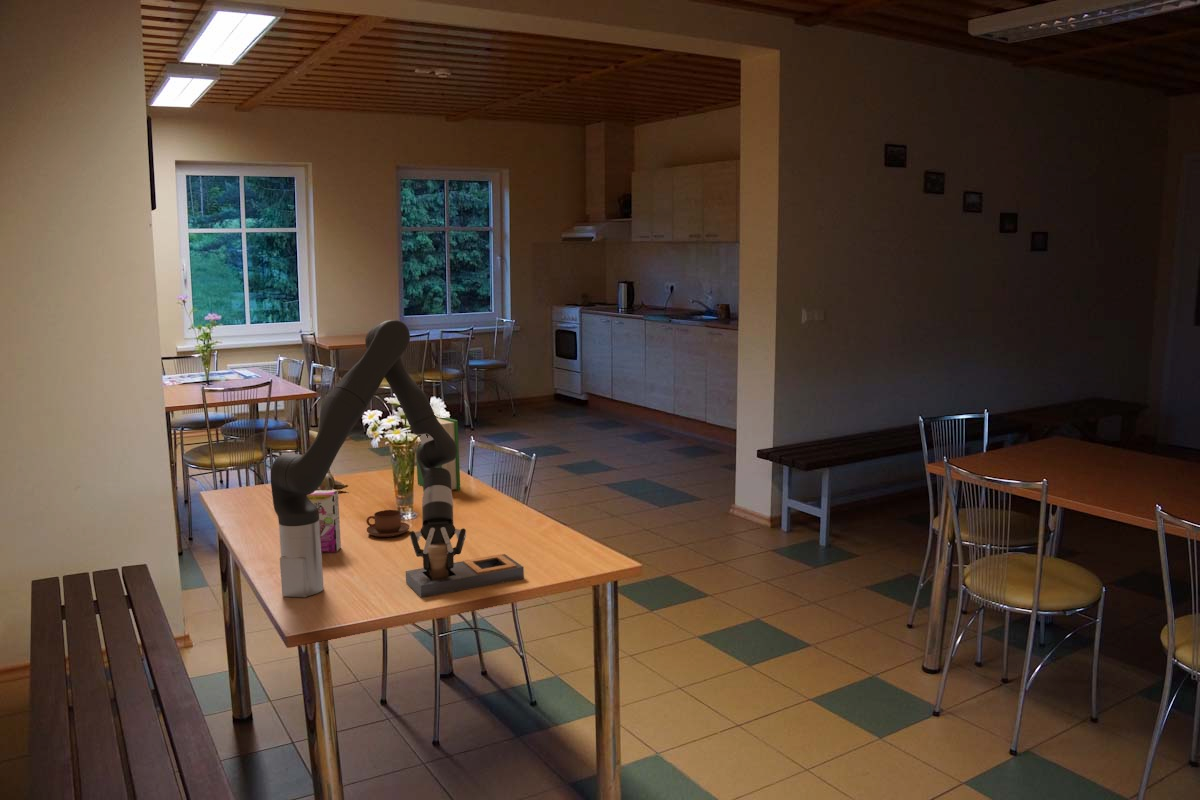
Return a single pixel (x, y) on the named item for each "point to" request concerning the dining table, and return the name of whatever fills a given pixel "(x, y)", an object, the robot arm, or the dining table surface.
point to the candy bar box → (328, 518)
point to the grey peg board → (466, 575)
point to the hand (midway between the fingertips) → (438, 569)
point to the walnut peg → (438, 560)
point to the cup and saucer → (387, 524)
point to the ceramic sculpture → (331, 483)
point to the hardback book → (452, 466)
